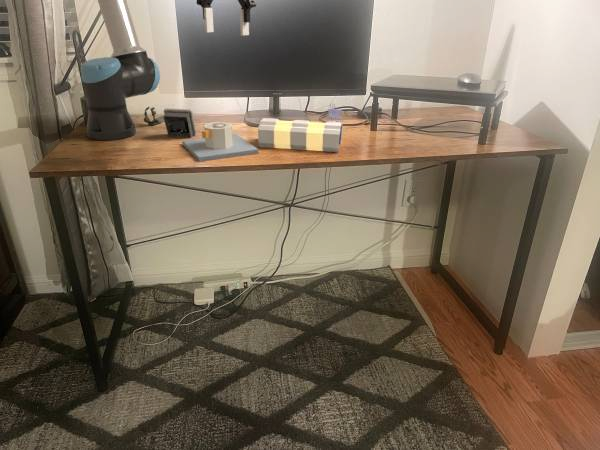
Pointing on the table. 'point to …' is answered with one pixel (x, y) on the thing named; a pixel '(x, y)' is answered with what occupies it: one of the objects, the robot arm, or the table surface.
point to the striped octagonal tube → (301, 133)
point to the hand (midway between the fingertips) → (226, 33)
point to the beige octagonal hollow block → (218, 135)
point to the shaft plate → (204, 153)
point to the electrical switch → (179, 123)
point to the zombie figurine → (155, 120)
